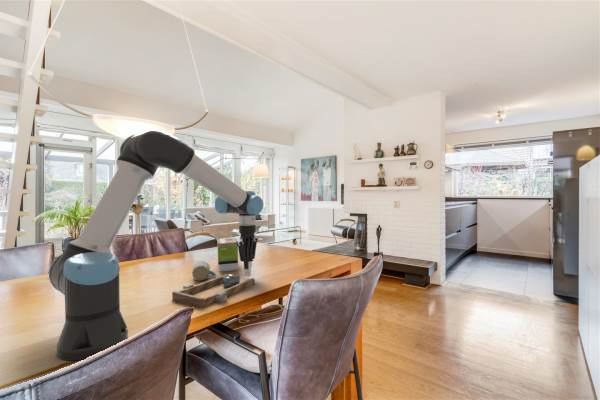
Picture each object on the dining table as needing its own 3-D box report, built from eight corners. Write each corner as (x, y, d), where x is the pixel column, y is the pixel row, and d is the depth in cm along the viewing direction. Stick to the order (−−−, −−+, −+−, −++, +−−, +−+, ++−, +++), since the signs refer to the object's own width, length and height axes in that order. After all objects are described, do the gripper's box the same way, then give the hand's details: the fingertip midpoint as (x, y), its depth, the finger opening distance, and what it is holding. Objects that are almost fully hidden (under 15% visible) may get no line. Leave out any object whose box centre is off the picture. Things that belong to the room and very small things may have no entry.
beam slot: (206, 309, 99) (206, 300, 99) (168, 298, 109) (168, 290, 109) (258, 285, 125) (258, 278, 125) (224, 278, 135) (223, 272, 135)
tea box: (217, 264, 161) (217, 238, 160) (235, 263, 164) (235, 237, 163) (218, 271, 146) (217, 242, 146) (238, 270, 149) (238, 241, 149)
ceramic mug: (191, 282, 129) (192, 265, 129) (192, 277, 137) (193, 261, 137) (216, 280, 132) (216, 263, 132) (216, 275, 140) (216, 259, 140)
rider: (231, 289, 120) (231, 278, 120) (219, 287, 123) (219, 275, 123) (243, 284, 126) (243, 273, 126) (231, 282, 129) (230, 271, 129)
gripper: (244, 226, 126) (244, 280, 126) (262, 223, 137) (262, 273, 138) (231, 225, 129) (231, 278, 130) (250, 222, 141) (250, 271, 141)
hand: (247, 275), depth 134 cm, fingers closed
